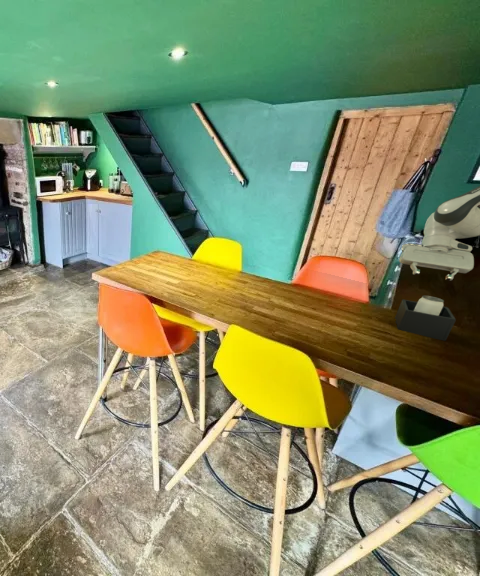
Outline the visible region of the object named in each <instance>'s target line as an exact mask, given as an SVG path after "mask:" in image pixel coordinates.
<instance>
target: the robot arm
mask: <svg viewBox="0 0 480 576" xmlns="http://www.w3.org/2000/svg"><path fill="white" fill-rule="evenodd" d="M479 206H480V185H478V186H476V187H475V188H472V189H470V190H469V191H467V192H465V193H462V194H460V195H458V196H456V197H452V198H450V199H448V200H445V201H443V202H442V203H440V204H439V205H438V206H437V208H436V209H435V211H434V212H432V213H431V214H430V215H429V216H428V217H427V219H426V222H425V224H424V228H423V238H422V240H421V244H420V243H412V242H407V243H404V244H402V245H401V254H400V257H399V260H398V261H399V263H400V264H402V265H408V266H409V267H410V269H411V271H412V275H416V276H418V275H420V273H421V269H419V268H417V267H422V268H428V269H434V270H441V271H447V272H450V274H449V273H448V274H446V275H445V279H444V280H445V281H453V279H454V277H455V275H457V273H459V274H467V273H469V272H470V271H472V270H473V269H474V268H475V267H474V266H475V258H474V254H473V253H471V252H472V250H473V246H472V245H469V244H466V243H463V242H461V241H458V240H462V239H470V238H475V237H479V236H480V207H479ZM456 239H458V240H456Z"/></svg>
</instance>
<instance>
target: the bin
mask: <svg viewBox="0 0 480 576" xmlns="http://www.w3.org/2000/svg"><path fill="white" fill-rule="evenodd" d="M417 303H418V301H413V300H409V299H401V302H400V304H399V307H398V309H397V311H396V314H395V317H394V320H395V319H396V321H395V324H397V325H396V328H397V330H398V331H402V332H406V333H410V334H415V335H418V336H423V337H426V338H431V339H435V340H439V341H444V342H446V341H447V339H448V337H449V335H450V332H451V331H452V329H453V327H454V325H455V323H456V320H457V319H456V318H455V316H454V314H453V313H452V311H451V310H450V308H449V307H448V306H443V308H442V310H441V312H440V314H439V316H438V315H432V314H427V313H422V312H417V311H414V309H415V307H416V305H417Z"/></svg>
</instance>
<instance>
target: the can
mask: <svg viewBox="0 0 480 576" xmlns="http://www.w3.org/2000/svg"><path fill="white" fill-rule="evenodd" d="M417 302H418V303H417V305H416V307H415V309H414V311H417V312H422V313H427V314H432V315H438V316H439V314H440V312H441V310H442V308H443V307H444V302H445V300H444V299H441V298H439V297H435V296H431V295H422V296H421V298H419V299H418V301H417Z"/></svg>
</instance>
